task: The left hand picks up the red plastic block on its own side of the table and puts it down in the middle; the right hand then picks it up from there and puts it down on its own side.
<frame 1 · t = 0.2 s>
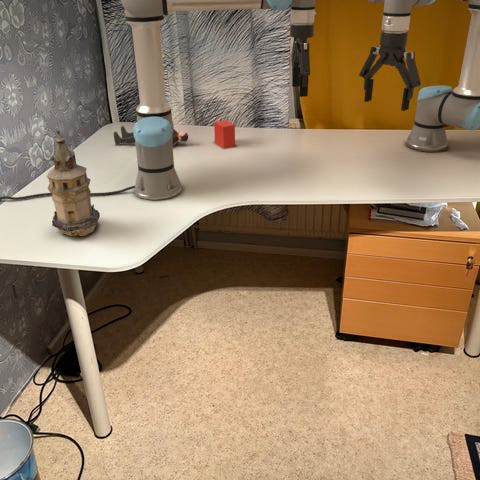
left hand: (299, 91, 180), 28 cm above the table, tool pointing down, fingers open, 13 cm apart
right hand: (385, 105, 163), 28 cm above the table, tool pointing down, fingers open, 13 cm apart
toy: (153, 143, 220), on the table
block: (225, 144, 218), on the table
miniature building: (78, 229, 156), on the table
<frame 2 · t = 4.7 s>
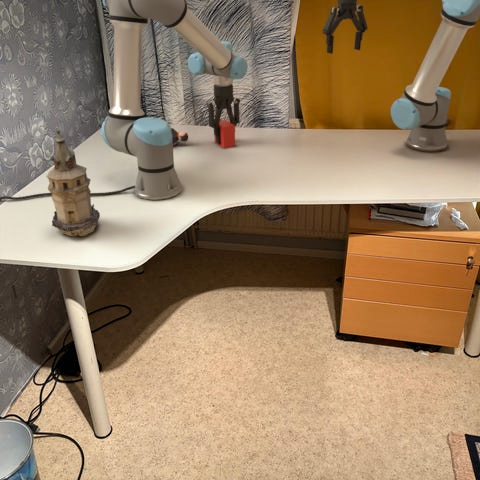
left hand: (224, 142, 217), 1 cm above the table, tool pointing down, fingers closed on block, 5 cm apart
right hand: (343, 51, 212), 33 cm above the table, tool pointing down, fingers open, 13 cm apart
block: (225, 144, 218), on the table, touching left hand
everything else where it was.
when the left hand's fingers open (3 cm above the table, at t = 12.7 s): block drops 2 cm, on the table.
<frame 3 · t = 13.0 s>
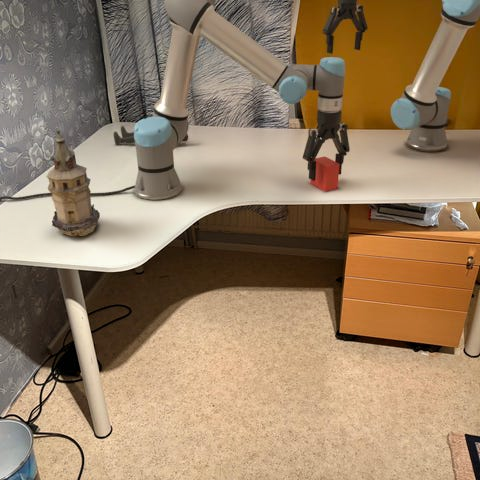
left hand: (324, 176, 178), 4 cm above the table, tool pointing down, fingers open, 10 cm apart
right hand: (343, 51, 212), 33 cm above the table, tool pointing down, fingers open, 13 cm apart
block: (324, 185, 180), on the table
everything else where it was.
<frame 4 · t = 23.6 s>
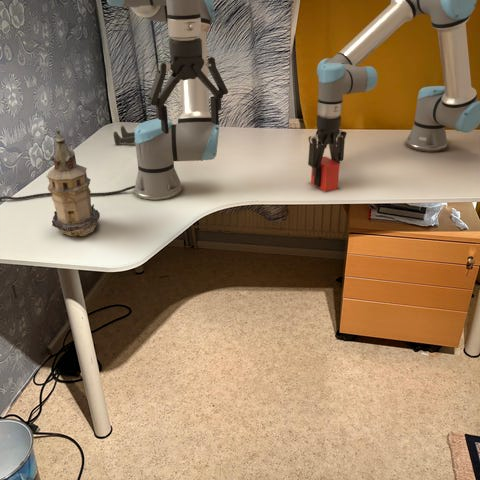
left hand: (190, 127, 134), 32 cm above the table, tool pointing down, fingers open, 13 cm apart
right hand: (324, 183, 180), 1 cm above the table, tool pointing down, fingers closed on block, 5 cm apart
block: (324, 185, 180), on the table, touching right hand
everything else where it was.
when the right hand's fingers open (3 cm above the table, at t = 30.2 s): block drops 2 cm, on the table.
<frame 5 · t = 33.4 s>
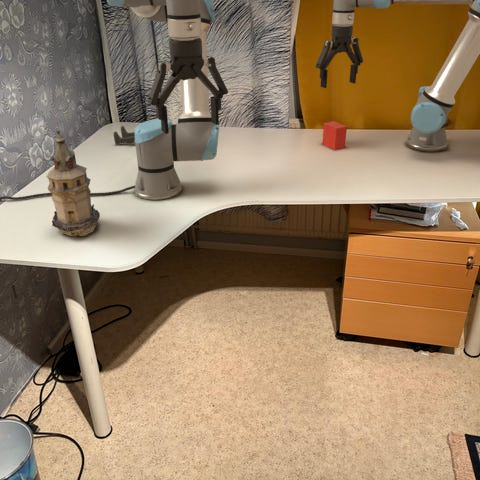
left hand: (190, 127, 134), 32 cm above the table, tool pointing down, fingers open, 13 cm apart
right hand: (338, 85, 202), 24 cm above the table, tool pointing down, fingers open, 13 cm apart
block: (333, 146, 214), on the table
everything else where it was.
at the end: block inside the target area (0.1 cm from its centre), on the table; block tilted 0°; the two hands never held the block at the same time; the left hand is holding nothing; the right hand is holding nothing; block at rest at the end (0.0 cm/s) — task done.
